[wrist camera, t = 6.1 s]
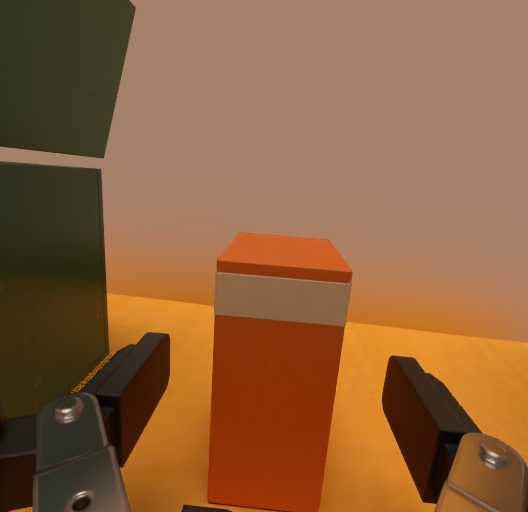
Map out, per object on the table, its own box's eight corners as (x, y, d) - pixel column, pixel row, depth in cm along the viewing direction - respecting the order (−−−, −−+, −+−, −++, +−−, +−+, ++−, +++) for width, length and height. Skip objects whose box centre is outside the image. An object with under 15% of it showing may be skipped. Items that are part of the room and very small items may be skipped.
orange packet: (308, 415, 18) (329, 239, 16) (318, 516, 13) (354, 270, 10) (229, 407, 18) (238, 231, 16) (206, 503, 13) (215, 259, 10)
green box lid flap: (97, 156, 20) (104, 158, 20) (-167, 124, 8) (-151, 129, 8) (129, 4, 18) (136, 7, 18) (-161, -322, 6) (-140, -314, 6)
